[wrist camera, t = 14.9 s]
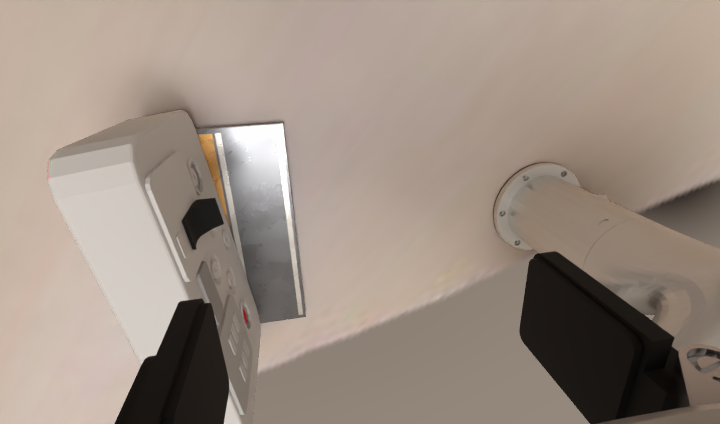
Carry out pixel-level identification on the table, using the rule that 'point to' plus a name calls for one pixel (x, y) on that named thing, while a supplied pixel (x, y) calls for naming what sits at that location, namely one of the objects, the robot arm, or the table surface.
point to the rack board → (258, 212)
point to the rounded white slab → (159, 239)
